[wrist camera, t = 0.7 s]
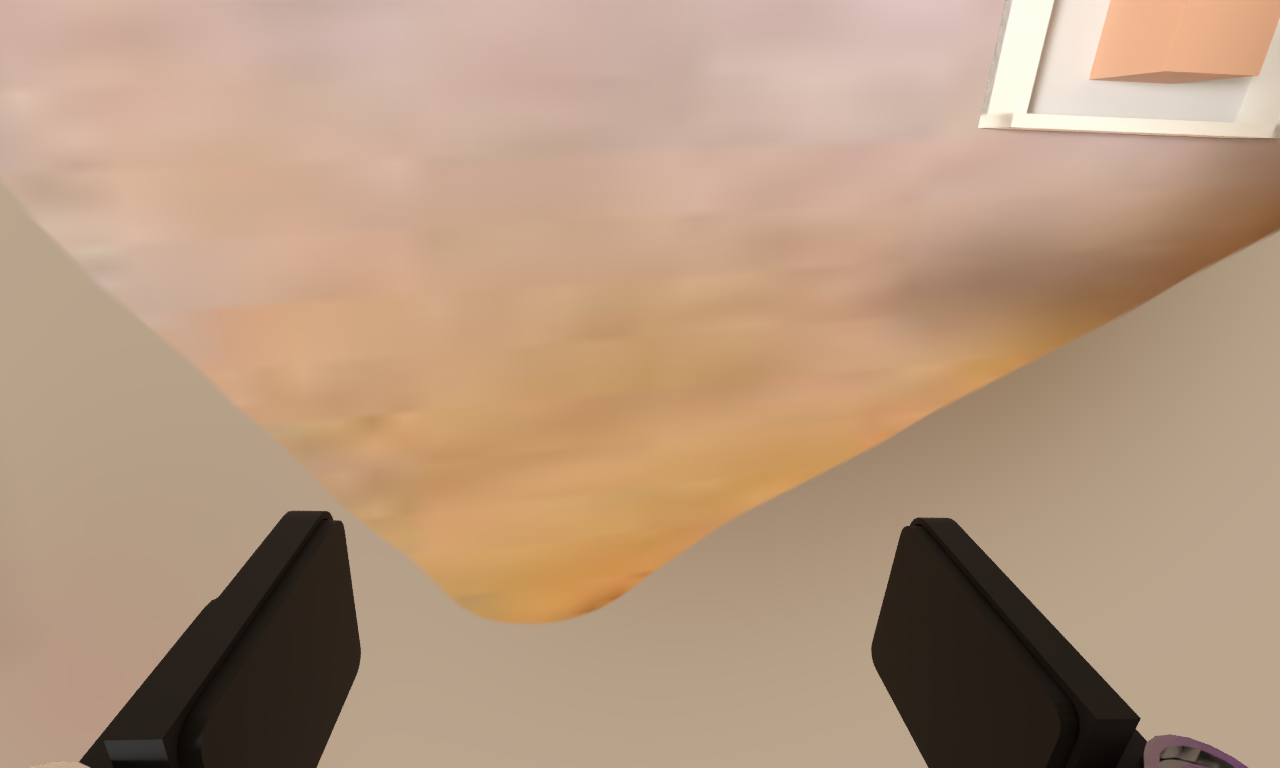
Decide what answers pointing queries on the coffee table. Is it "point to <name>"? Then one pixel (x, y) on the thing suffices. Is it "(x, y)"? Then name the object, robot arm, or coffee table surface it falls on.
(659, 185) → the coffee table surface
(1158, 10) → the plain light orange cube
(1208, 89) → the sorting box
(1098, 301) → the coffee table surface
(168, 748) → the robot arm
